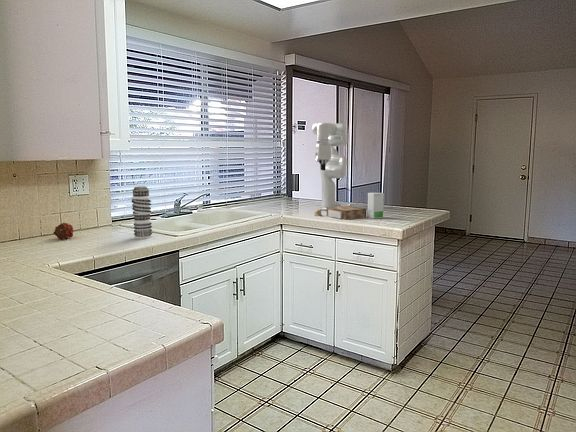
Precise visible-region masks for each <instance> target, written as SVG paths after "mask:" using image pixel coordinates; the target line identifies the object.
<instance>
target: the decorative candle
mask: <svg viewBox="0 0 576 432" xmlns="http://www.w3.org/2000/svg"><path fill="white" fill-rule="evenodd" d="M149 191H150V188H148V187H147V186H140V185H139V186H134V187H133V189H132V198H131V201H130V202H131V203H132V205H131V206H132V207H131V209H132V210H133V211H132V214H133V216H134V217H133V218H134V219H133V226H134V227H133V229H134V230H133V236H134V239H138V240H139V239H142V240H143V239H149V238H152V237H153V229H152V227H153V226H152V224H153V223H152V219H151V214H152V207H151V205H152V203H151V202H152V200H151V199H150V198H151V197H150V192H149Z"/></svg>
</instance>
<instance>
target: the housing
mask: <svg viewBox="0 0 576 432" xmlns="http://www.w3.org/2000/svg"><path fill="white" fill-rule="evenodd" d="M328 210H333V211H339V212H342V219H341V220H345V221H346V220H353V219H355V220H356V219H363V218H367V208H364V207H363V208H362V207H357V206H351V205H342V206H337V207H327V210H326V217H329V216H328Z"/></svg>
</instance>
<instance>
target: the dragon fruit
mask: <svg viewBox="0 0 576 432" xmlns="http://www.w3.org/2000/svg"><path fill="white" fill-rule="evenodd" d="M53 235H54V236H56V237H57V238H58V239H60V240H67V239H68V238H73V236H74V227H73V225H72V224H68V223H67V222H63V223H60V224H58V226H56V227H55V228H54V231H53Z"/></svg>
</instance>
